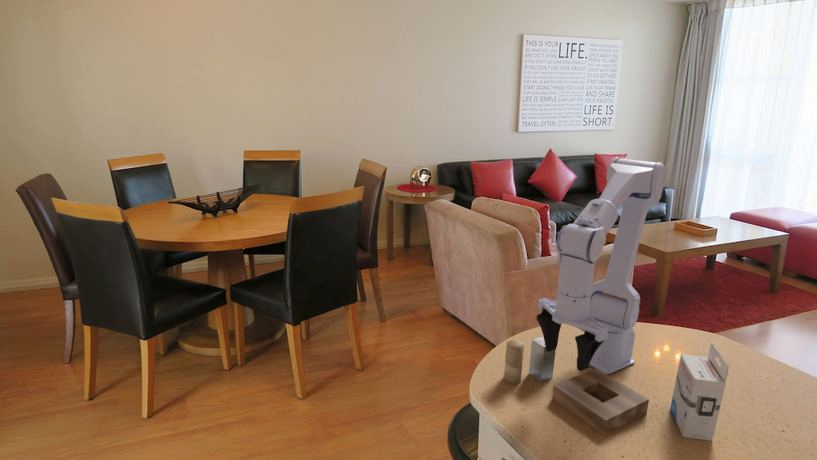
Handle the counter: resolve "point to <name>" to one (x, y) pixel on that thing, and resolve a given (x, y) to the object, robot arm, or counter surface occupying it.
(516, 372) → the round dowel
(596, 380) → the bore block
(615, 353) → the robot arm
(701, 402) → the ink box
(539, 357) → the square bit
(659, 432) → the counter surface
